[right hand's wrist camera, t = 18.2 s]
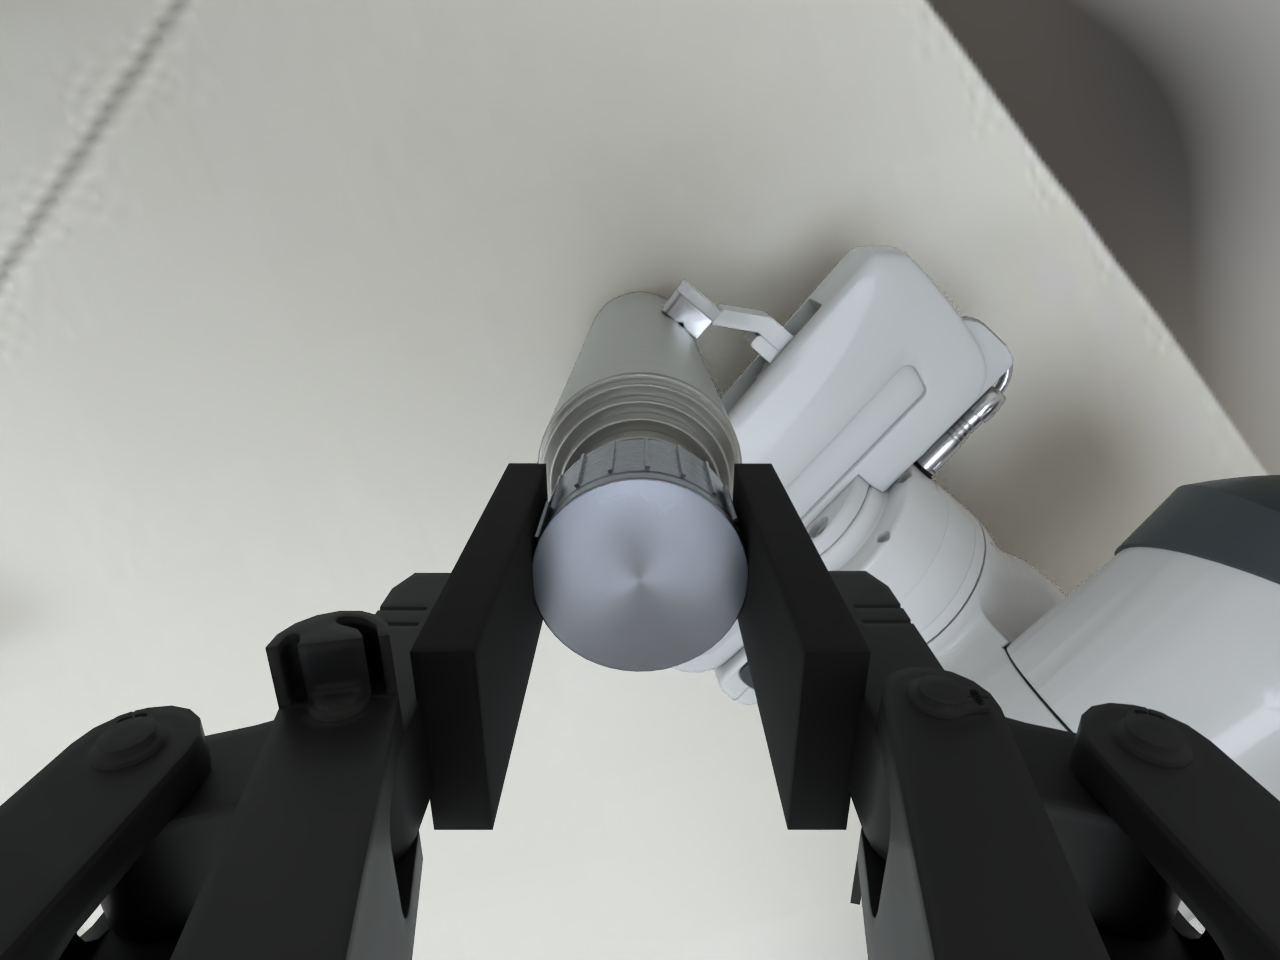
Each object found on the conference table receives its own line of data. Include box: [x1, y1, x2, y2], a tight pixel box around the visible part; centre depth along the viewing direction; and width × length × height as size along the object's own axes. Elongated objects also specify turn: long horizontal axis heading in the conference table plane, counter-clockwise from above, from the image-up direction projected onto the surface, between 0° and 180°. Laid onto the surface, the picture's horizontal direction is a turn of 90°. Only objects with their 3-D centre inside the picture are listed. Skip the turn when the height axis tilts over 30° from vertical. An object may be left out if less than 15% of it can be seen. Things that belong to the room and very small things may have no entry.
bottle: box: [538, 292, 742, 502], centre depth 24 cm, size 5×5×24 cm
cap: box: [532, 437, 748, 671], centre depth 13 cm, size 4×4×2 cm
